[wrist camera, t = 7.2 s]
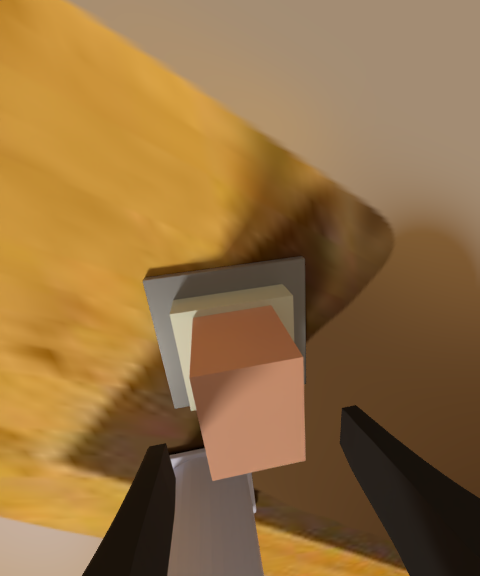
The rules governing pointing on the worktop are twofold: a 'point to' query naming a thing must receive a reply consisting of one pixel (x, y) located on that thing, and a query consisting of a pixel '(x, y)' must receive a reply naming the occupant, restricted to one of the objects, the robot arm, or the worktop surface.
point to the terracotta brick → (247, 391)
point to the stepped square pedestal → (221, 308)
